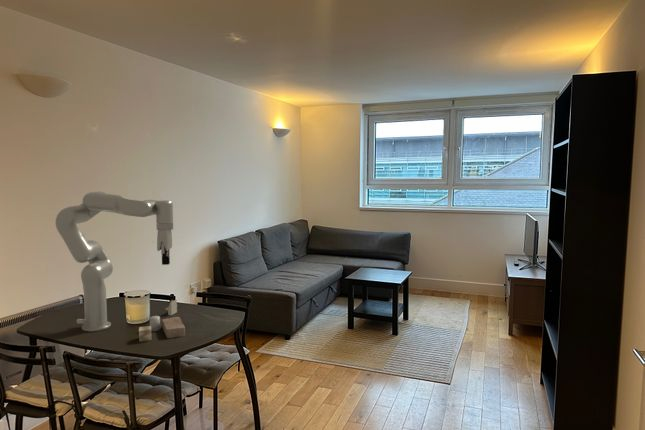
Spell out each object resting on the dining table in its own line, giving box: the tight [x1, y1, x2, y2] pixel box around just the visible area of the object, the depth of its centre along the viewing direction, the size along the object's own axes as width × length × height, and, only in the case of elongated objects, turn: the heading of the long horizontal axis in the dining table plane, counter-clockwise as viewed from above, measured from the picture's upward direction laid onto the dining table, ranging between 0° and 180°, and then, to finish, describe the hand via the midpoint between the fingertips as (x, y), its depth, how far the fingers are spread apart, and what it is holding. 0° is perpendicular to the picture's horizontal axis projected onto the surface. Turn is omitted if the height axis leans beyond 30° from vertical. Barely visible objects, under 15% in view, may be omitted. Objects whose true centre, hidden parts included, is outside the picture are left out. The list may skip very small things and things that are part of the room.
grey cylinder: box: [149, 315, 161, 332], centre depth 213 cm, size 5×5×6 cm
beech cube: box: [138, 325, 152, 342], centre depth 201 cm, size 5×5×5 cm
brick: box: [161, 316, 186, 339], centre depth 211 cm, size 17×8×5 cm, turn 27°
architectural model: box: [165, 299, 178, 316], centre depth 237 cm, size 3×7×7 cm, turn 168°
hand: (165, 264), depth 213 cm, fingers closed
